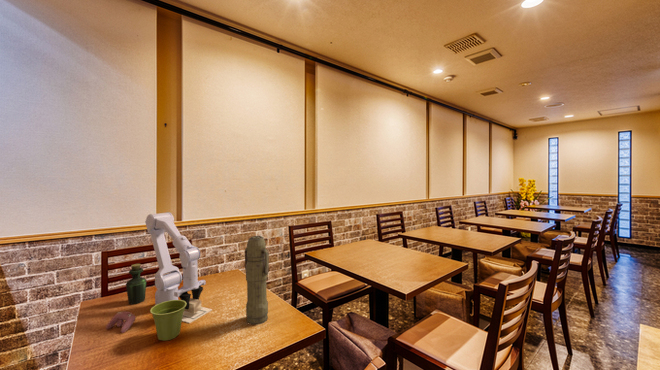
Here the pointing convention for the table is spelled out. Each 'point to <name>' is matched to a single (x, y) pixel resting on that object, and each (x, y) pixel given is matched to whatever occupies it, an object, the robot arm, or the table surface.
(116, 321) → the video game controller
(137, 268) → the potion bottle
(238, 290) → the table surface
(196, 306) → the tall beige pillar block
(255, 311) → the thermos
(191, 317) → the mat
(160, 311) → the plant pot
